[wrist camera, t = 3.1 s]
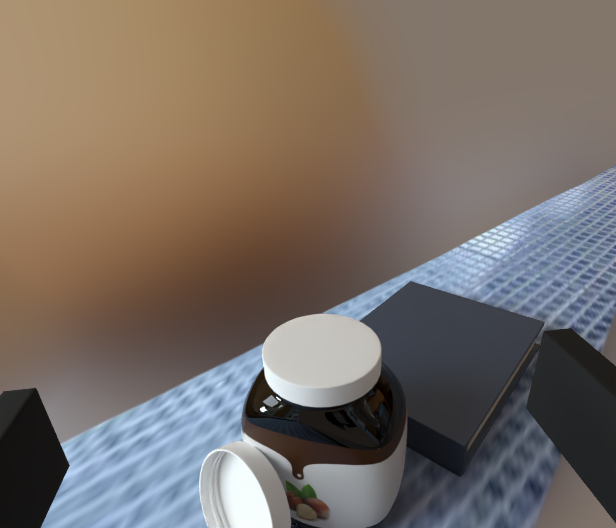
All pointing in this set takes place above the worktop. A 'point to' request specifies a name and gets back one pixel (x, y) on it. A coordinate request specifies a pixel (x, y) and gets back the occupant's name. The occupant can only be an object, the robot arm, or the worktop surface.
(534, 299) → the worktop surface
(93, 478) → the worktop surface
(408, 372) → the book
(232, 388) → the worktop surface
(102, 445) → the worktop surface
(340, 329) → the spread jar
